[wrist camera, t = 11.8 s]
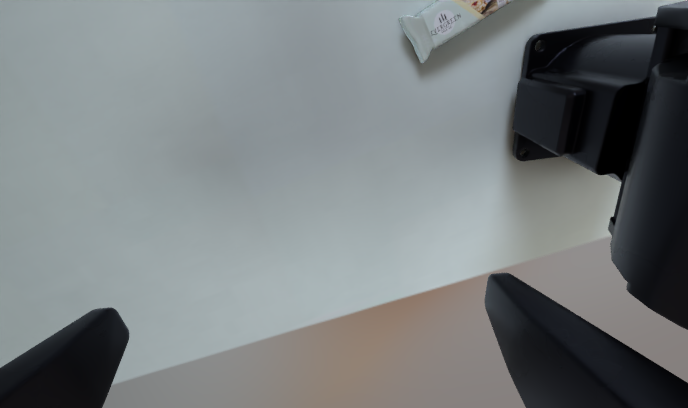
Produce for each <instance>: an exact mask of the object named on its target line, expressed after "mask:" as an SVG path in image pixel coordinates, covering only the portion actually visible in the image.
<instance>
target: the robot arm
mask: <svg viewBox="0 0 688 408" xmlns="http://www.w3.org/2000/svg"><path fill="white" fill-rule="evenodd" d="M653 26H656V28H655V30H654V31H653V32H652V28H653ZM539 40H540V41H541V46H540V48H539V49H538V50H536V49H535V45H536V43H537V42H538V41H539ZM513 130H514V131H515V137H514V145H513V156H514V157H515V158H516V159H518V160H520V161H529V160H536V159H544V158H551V157H559V156H564V157H566V158H568V159H570V160H572V161H573V162H575V163H577V164H579V165H581V166H583V167H585V168H587V169H588V170H590V171H592V172H594V173H596V174H598V175H608V176H610V177H612V178H614V179H616V180H618V181H620V182H622V183H621V188H620V192H619V196H618V201H617V205H616V209H615V213H614V217H611V218H610V222H609V227H608V230H609V231H610V233H611V235H612V240H611V244H610V245H611V258H612V261H613V263H614V264H615V265H616V267H617V269H618V270H619V271H620V273H621V274H622V276H623V277H624V279H625V280H626V281H627V282H628V283H627V290H628V292H629V293H630V294H632V295H633V296H634V297H635V298H637V299H638V300H639V301H641V302H642V303H643V304H644V305H646V306H647V307H648V308H650V309H651V310H653V311H655V312H656V313H658V314H660V315H661V316H663V317H665V318H667V319H668V320H670V321H672V322H674V323H675V324H677V325H679V326H681V327H683V328H685V329H687V330H688V0H687V1H683V2H678V3H674V4H669V5H665V6H661V7H658V11H657V15H656V17H648V18H642V19H635V20H628V21H621V22H615V23H608V24H601V25H594V26H588V27H581V28H574V29H567V30H561V31H554V32H547V33H540V34H536V35H533V36H532V37H531V38H530V39H529V40H528V42H527V44H526V48H525V56H524V64H523V72H522V79H521V81H520V82H519V83H518V89H517V97H516V105H515V114H514V122H513ZM523 149H526V151H525V153H524V154H522V155H521V154H520V153H521V151H522V150H523ZM485 307H486V311H487V313H488V316H489V319H490V321H491V324H492V327H493V330H494V333H495V335H496V338H497V341H498V344H499V346H500V349H501V351H502V354H503V357H504V360H505V363H506V365H507V368H508V370H509V373H510V375H511V377H512V379H513V381H514V384H515V386H516V388H517V390H518V392H519V394H520V396H521V398H522V400H523V402H524V404H525V406H526V408H688V383H687V382H685V381H684V380H682V379H680V378H679V377H677V376H675V375H674V374H672V373H671V372H669V371H667V370H666V369H664V368H663V367H661V366H659V365H657V364H656V363H654V362H653V361H651V360H649V359H648V358H646V357H645V356H643V355H641V354H640V353H638V352H636V351H635V350H633V349H632V348H630V347H628V346H627V345H625V344H623V343H622V342H620V341H618V340H617V339H615V338H613V337H612V336H610V335H609V334H607V333H606V332H604V331H602V330H601V329H599V328H597V327H596V326H594V325H592V324H591V323H589V322H587V321H586V320H584V319H583V318H581V317H580V316H578V315H576V314H575V313H573V312H571V311H570V310H568V309H567V308H565V307H563V306H562V305H560V304H558V303H557V302H555V301H554V300H552V299H550V298H549V297H547V296H545V295H544V294H542V293H541V292H539V291H537V290H536V289H534V288H532V287H531V286H529V285H527V284H526V283H524V282H522V281H521V280H519V279H518V278H516V277H514V276H513V275H511V274H509V273H496V274H491V275H490V276H489V277H488V282H487V288H486V295H485ZM128 340H129V330H128V328H127V327H126V325H125V323H124V322H123V320H122V318H121V317H120V315H119V313H118V312H117V311H116V310H115V309H114V308H100V309H95V310H92V311H90V312H89V313H87V314H86V315H84V316H82V317H81V318H79V319H78V320H76V321H74V322H73V323H71V324H70V325H68V326H66V327H65V328H63V329H62V330H60V331H59V332H57V333H55V334H54V335H52V336H51V337H49V338H47V339H46V340H44V341H43V342H41V343H39V344H38V345H36V346H35V347H33V348H31V349H30V350H28V351H27V352H25V353H23V354H22V355H20V356H19V357H17V358H16V359H14V360H12V361H11V362H9V363H8V364H6V365H4V366H3V367H1V368H0V408H102V407H103V404H104V402H105V399H106V397H107V395H108V392H109V389H110V387H111V384H112V382H113V379H114V377H115V374H116V371H117V369H118V366H119V364H120V361H121V359H122V356H123V353H124V351H125V348H126V346H127V343H128Z"/></svg>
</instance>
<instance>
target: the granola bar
mask: <svg viewBox="0 0 688 408" xmlns="http://www.w3.org/2000/svg"><path fill="white" fill-rule="evenodd" d="M511 1H512V0H438V1H436V2H435V3H433V4H432V5H430V6H429V7H427V8H426V9H424V10H423V11H421V12H420V13H418V14H417V17H415V16H407V15H404V16H402V17H401V18H399V21H400V23H401V26H402V28H403V30H404V32H405V34H406V36H407V37H408V38H409V40H410V41H411V42H412V44H413V46H414V49H415V52H416V54H417V56H418V58H419V60H420V62H421V64H422V63H423V62H425V61H426V60H427V59H428V57H429V55H430V52H431V50H432V49H436V48H438V47H439V46H441V45H442V44H444V43H446V42H447V41H449V40H451V39H452V38H454V37H455V36H457V35H459V34H460V33H462V32H463V31H465V30H467V29H468V28H470V27H471V26H473V25H474V24H476V23H478V22H479V21H481V20H482V19H484V18H486V17H487V16H489V15H490V14H492V13H494V12H495V11H497V10H498V9H500V8H501V7H503V6H505V5H506V4H508V3H509V2H511Z"/></svg>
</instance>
